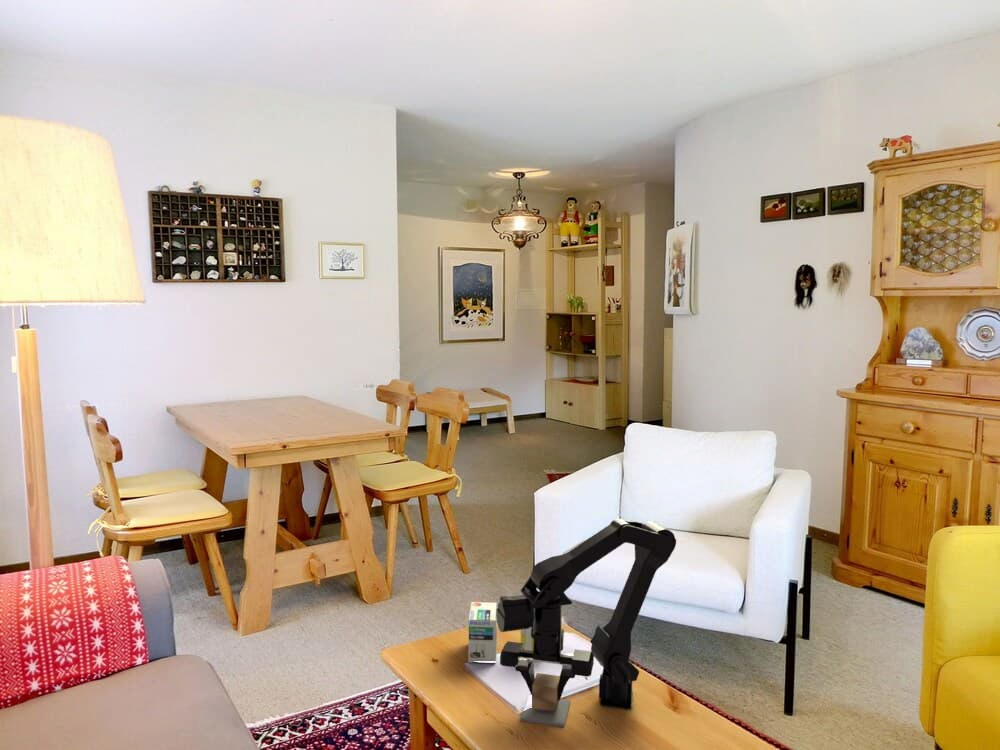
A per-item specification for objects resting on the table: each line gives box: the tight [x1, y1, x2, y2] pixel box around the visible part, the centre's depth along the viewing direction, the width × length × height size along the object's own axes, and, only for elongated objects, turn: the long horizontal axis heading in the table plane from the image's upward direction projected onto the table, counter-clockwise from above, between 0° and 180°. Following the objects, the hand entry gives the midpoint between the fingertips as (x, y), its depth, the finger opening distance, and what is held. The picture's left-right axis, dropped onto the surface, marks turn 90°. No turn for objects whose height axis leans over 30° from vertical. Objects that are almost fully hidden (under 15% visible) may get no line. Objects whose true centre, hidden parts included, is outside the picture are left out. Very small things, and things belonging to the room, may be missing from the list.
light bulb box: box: [468, 601, 498, 663], centre depth 173 cm, size 11×7×11 cm, turn 179°
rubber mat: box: [519, 698, 571, 728], centre depth 148 cm, size 9×9×1 cm
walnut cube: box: [532, 672, 560, 712], centre depth 148 cm, size 5×5×5 cm
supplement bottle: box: [520, 627, 533, 651], centre depth 173 cm, size 7×7×13 cm
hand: (546, 697), depth 148 cm, fingers closed on walnut cube, 5 cm apart
